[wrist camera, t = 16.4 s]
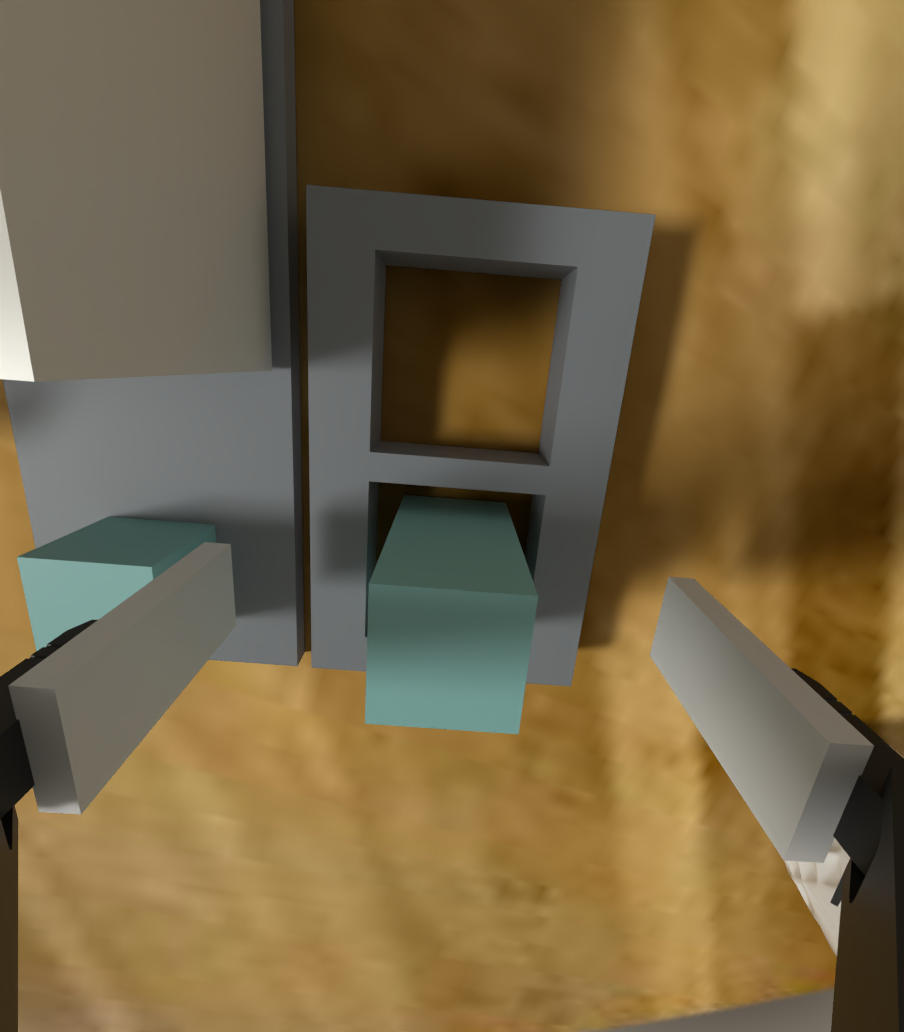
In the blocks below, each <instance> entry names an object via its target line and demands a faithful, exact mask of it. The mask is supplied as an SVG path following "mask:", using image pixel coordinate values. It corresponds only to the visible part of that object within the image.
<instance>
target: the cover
mask: <svg viewBox="0 0 904 1032" xmlns="http://www.w3.org/2000/svg"><path fill="white" fill-rule="evenodd" d="M254 371H272V351H271V321H270V291H269V261H268V231H267V201H266V171H265V141H264V110H263V80H262V50H261V20H260V0H0V379H6V380H19V381H31V382H40V381H61V380H82V379H104V378H125V377H147V376H168V375H189V374H211V373H232V372H254Z"/></svg>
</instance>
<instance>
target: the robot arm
mask: <svg viewBox="0 0 904 1032" xmlns="http://www.w3.org/2000/svg"><path fill="white" fill-rule="evenodd" d="M235 627H236V615H235V600H234V585H233V570H232V556H231V544H224V543H211V542H204V543H203V544H201V545H200V546H199V547H197V548H196V549H195V550H193V551H192V552H190V553H189V554H188V555H186V556H185V557H184V558H182V559H181V560H180V561H178V562H177V563H175V564H174V565H173V566H171V567H170V568H169V569H167V570H166V571H164V572H163V573H162V574H160V575H159V576H158V577H156V578H155V579H154V580H152V581H151V582H149V583H148V584H147V585H145V586H144V587H143V588H141V589H140V590H138V591H137V592H136V593H134V594H133V595H132V596H130V597H129V598H128V599H126V600H125V601H123V602H122V603H121V604H119V605H118V606H117V607H115V608H114V609H112V610H111V611H110V612H108V613H107V614H106V615H104V616H103V617H102V618H100V619H99V620H90V621H87V622H85V623H83V624H81V625H78V626H76V627H74V628H71V629H69V630H67V631H65V632H64V633H62V634H61V635H59V636H58V637H57V638H55V639H54V640H52V641H51V642H49V643H48V644H47V646H46V647H42V648H41V649H39V650H38V651H37V652H35V653H34V654H32V655H31V657H30V659H25V660H24V661H22V662H21V663H19V664H18V665H16V666H15V667H14V668H12V669H11V670H9V671H8V672H6V673H5V674H4V675H2V676H1V677H0V1032H18V817H17V814H16V810H15V806H14V805H15V804H16V803H17V802H18V801H19V800H20V799H21V798H22V797H23V796H24V795H25V794H26V793H27V792H28V791H29V790H30V789H31V788H32V787H33V789H34V794H35V798H36V802H37V806H38V810H39V812H51V813H66V814H82V813H83V811H84V810H85V809H86V808H87V807H88V805H89V804H90V803H91V802H92V800H93V799H94V798H95V797H96V796H97V794H98V793H99V792H100V791H101V790H102V788H103V787H104V786H105V785H106V783H107V782H108V781H109V780H110V779H111V777H112V776H113V775H114V774H115V772H116V771H117V770H118V769H119V768H120V766H121V765H122V764H123V763H124V762H125V760H126V759H127V758H128V757H129V755H130V754H131V753H132V752H133V751H134V749H135V748H136V747H137V746H138V745H139V743H140V742H141V741H142V740H143V738H144V737H145V736H146V735H147V734H148V732H149V731H150V730H151V729H152V727H153V726H154V725H155V724H156V723H157V721H158V720H159V719H160V718H161V717H162V715H163V714H164V713H165V712H166V710H167V709H168V708H169V707H170V706H171V704H172V703H173V702H174V701H175V700H176V698H177V697H178V696H179V695H180V693H181V692H182V691H183V690H184V689H185V687H186V686H187V685H188V684H189V682H190V681H191V680H192V679H193V678H194V676H195V675H196V674H197V673H198V672H199V670H200V669H201V668H202V667H203V665H204V664H205V663H206V662H207V661H208V659H209V658H210V657H211V656H212V655H213V653H214V652H215V651H216V650H217V648H218V647H219V646H220V645H221V644H222V642H223V641H224V640H225V639H226V637H227V636H228V635H229V634H230V633H231V631H232V630H233V629H234V628H235ZM650 656H651V658H652V659H653V661H654V662H655V664H656V666H657V667H658V669H659V670H660V672H661V673H662V675H663V676H664V678H665V679H666V681H667V682H668V684H669V685H670V687H671V689H672V690H673V692H674V693H675V695H676V696H677V698H678V699H679V701H680V702H681V704H682V705H683V707H684V708H685V710H686V711H687V713H688V715H689V716H690V718H691V719H692V721H693V722H694V724H695V725H696V727H697V728H698V730H699V731H700V733H701V734H702V736H703V738H704V739H705V741H706V742H707V744H708V745H709V747H710V748H711V750H712V751H713V753H714V754H715V756H716V757H717V759H718V761H719V762H720V764H721V765H722V767H723V768H724V770H725V771H726V773H727V774H728V776H729V777H730V779H731V780H732V782H733V784H734V785H735V787H736V788H737V790H738V791H739V793H740V794H741V796H742V797H743V799H744V800H745V802H746V803H747V805H748V807H749V808H750V810H751V811H752V813H753V814H754V816H755V817H756V819H757V820H758V822H759V823H760V825H761V826H762V828H763V830H764V831H765V833H766V834H767V836H768V837H769V839H770V840H771V842H772V843H773V845H774V846H775V848H776V849H777V851H778V852H779V854H780V856H781V857H782V859H783V860H785V861H800V862H815V863H824V861H825V859H826V856H827V854H828V852H829V850H830V847H831V845H832V843H833V840H834V838H835V839H836V840H837V842H838V843H839V844H840V845H841V847H842V848H843V849H844V851H845V852H846V853H847V854H848V856H849V857H850V860H849V862H848V864H847V866H846V868H845V871H844V873H843V875H842V877H841V879H840V882H839V884H838V886H837V888H836V890H835V893H834V895H833V897H832V899H831V902H830V903H832V904H833V905H835V906H837V907H838V905H839V904H840V902H841V911H840V924H839V936H838V949H837V962H836V975H835V988H834V1002H833V1014H832V1027H831V1032H904V758H903V757H901V756H900V755H899V754H898V753H897V752H896V751H895V750H894V749H892V748H891V747H890V746H889V745H888V744H887V743H886V742H885V741H884V740H882V739H881V738H880V737H879V736H878V735H877V734H876V733H875V732H873V731H872V730H871V729H870V728H869V727H868V726H867V725H866V724H865V723H863V722H862V721H861V720H860V719H859V718H858V717H857V716H856V715H852V712H851V711H850V710H849V709H848V708H847V707H845V706H844V705H843V704H842V703H841V702H837V698H835V697H834V696H833V695H832V694H831V693H830V692H829V691H828V690H826V689H825V688H824V687H823V686H822V685H821V684H820V683H818V682H817V681H815V680H813V679H812V678H810V677H808V676H807V675H805V674H803V673H802V672H800V671H798V670H797V669H793V668H790V667H788V666H787V665H786V664H785V663H784V662H783V661H782V660H781V659H780V658H779V657H778V656H777V655H776V654H774V653H773V652H772V651H771V650H770V649H769V648H768V647H767V646H766V645H765V644H764V643H763V642H762V641H760V640H759V639H758V638H757V637H756V636H755V635H754V634H753V633H752V632H751V631H750V630H749V629H747V628H746V627H745V626H744V625H743V624H742V623H741V622H740V621H739V620H738V619H737V618H736V617H735V616H733V615H732V614H731V613H730V612H729V611H728V610H727V609H726V608H725V607H724V606H723V605H722V604H721V603H719V602H718V601H717V600H716V599H715V598H714V597H713V596H712V595H711V594H710V593H709V592H708V591H706V590H705V589H704V588H703V587H702V586H701V585H700V584H699V583H698V582H697V581H696V580H695V579H692V578H678V577H668V581H667V585H666V590H665V594H664V598H663V602H662V607H661V611H660V615H659V619H658V624H657V628H656V632H655V636H654V640H653V645H652V649H651V653H650Z"/></svg>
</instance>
